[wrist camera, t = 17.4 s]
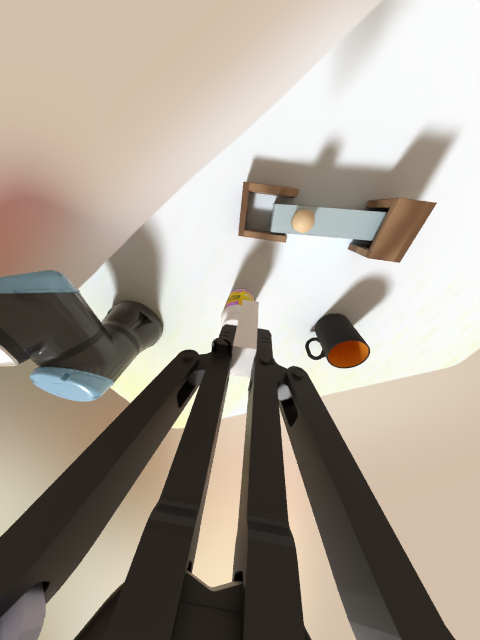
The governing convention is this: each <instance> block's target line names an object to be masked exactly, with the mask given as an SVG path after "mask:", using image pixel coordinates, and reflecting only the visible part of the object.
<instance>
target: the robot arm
mask: <svg viewBox="0 0 480 640" xmlns="http://www.w3.org/2000/svg"><path fill="white" fill-rule="evenodd" d="M79 292H80V291H79V290H78V289H76V288H75V287H74V286H73V284H72V283H71V282H70V281H69V279H68V278H67V277H66V276H65V275H63V274H62V273H60V272H58V271H54V270H46V271H39V272H32V273H25V274H19V275H12V276H5V277H0V366H16V365H19V364H21V363H22V362H24V361H26V360H28V359H31V360H32V361H34V362H35V363H36V364H37V365H38V366H39V367H38V368H36V369H34V370H33V372H32V373H31V374H30V379H32V382H33V383H34V384H35V385H36V386H38V387H39V388H41V389H43V390H45V391H47V392H49V393H51V394H54V395H56V396H59V397H62V398H66V399H70V400H75V401H92V400H95V399H97V398H99V397H100V396H102V395H103V394H104V393H105V392H106V391H107V390H108V389H109V388H110V387H111V386H112V385H113V384H114V382H115V381H116V380H117V379H118V377H119V376H120V375H121V374H122V373H123V371H124V370H125V369H126V368H127V367H128V366H129V364H130V363H131V362H132V361H133V360H134V359H135V357H136V356H137V355H138V354H139V353H140V352H142V351H144V350H145V349H146V348H148V347H150V346H152V345H154V344H155V343H156V342H157V341H158V340H159V339H160V337H161V336H162V331H163V330H162V325H161V322H160V320H159V319H158V317H157V316H156V315H155V314H154V313H153V312H152V311H151V310H150V309H148V308H147V307H145V306H144V305H142V304H139V303H136V302H132V301H124V302H120V303H118V304H117V305H115V306H114V307H112V308H111V309H110V310H109V312H108V314H107V316H106V317H105V318H104V319H103V321H102V322H100V320H99V319H98V318H97V316H96V315H95V314H94V312H93V311H92V310H91V308H90V307H89V305H88V304H87V303H86V301H85V300H84V298H83V297H82V296H81V294H80V293H79ZM258 303H259V302H256V301H249V300H243V302H242V306H241V311H240V315H239V320H238V324H237V326H236V325H230V324H225V325H224V326H223V327H222V329H221V332H220V335H219V338H216V339H215V340H213V342H212V352H210V353H208V354H201V355H199V354H198V353H197V352H196V351H194V350H184V351H182V352H180V353H179V354H178V355H177V356H176V357H175V358H174V359H173V360H172V361H171V362H170V363H169V364H168V365H167V366H166V367H165V368H164V369H163V370H162V372H161V373H160V374H159V375H158V376H157V377H156V378H155V379H154V380H153V381H152V382H151V383H150V384H149V385H148V386H147V387H146V388H145V389H144V390H143V391H142V392H141V393H140V394H139V395H138V396H137V397H136V398H135V399H134V400H133V401H132V402H131V403H130V404H129V406H128V407H127V408H126V409H125V410H124V411H123V412H122V413H121V414H120V415H119V416H118V417H117V418H116V419H115V420H114V421H113V422H112V423H111V424H110V425H109V426H108V427H107V428H106V429H105V430H104V431H103V432H102V434H100V435H99V436H98V437H97V439H96V440H95V441H94V442H93V443H92V444H91V445H90V446H89V447H88V448H87V449H86V450H85V451H84V452H83V453H82V454H81V455H80V456H79V457H78V458H77V459H76V460H75V461H74V462H73V463H72V464H71V465H70V466H69V467H68V468H67V469H66V470H65V472H63V473H62V475H61V476H60V477H59V478H58V479H57V480H56V481H55V482H54V483H53V484H52V485H51V486H50V487H49V488H48V489H47V490H46V491H45V492H44V493H43V494H42V495H41V496H40V497H39V498H38V499H37V500H36V501H35V502H34V503H33V504H32V505H31V506H30V507H29V508H28V510H27V511H26V512H25V513H24V514H23V515H22V516H21V517H20V518H19V519H18V520H17V521H16V522H15V523H14V524H13V525H12V526H11V527H10V528H9V529H8V530H7V531H6V532H5V533H4V534H3V535H2V536H1V537H0V640H37V639H38V637H39V634H40V632H41V629H42V626H43V622H44V618H45V608H46V603H47V602H48V601H49V600H50V599H51V598H52V597H53V596H54V595H55V593H56V592H57V591H58V590H59V589H60V588H61V586H62V585H63V584H64V583H65V581H66V580H67V579H68V578H69V576H70V575H71V574H72V573H73V571H74V570H75V569H76V568H77V566H78V565H79V564H80V562H81V561H82V559H83V558H84V557H85V555H86V554H87V553H88V551H89V550H90V548H91V547H92V545H93V544H94V543H95V541H96V540H97V538H98V537H99V535H100V534H101V532H102V531H103V529H104V528H105V526H106V525H107V523H108V522H109V520H110V519H111V517H112V515H113V514H114V513H115V511H116V510H117V508H118V506H119V505H120V504H121V502H122V501H123V499H124V498H125V496H126V495H127V493H128V492H129V490H130V489H131V487H132V486H133V484H134V482H135V481H136V480H137V478H138V476H139V475H140V474H141V472H142V471H143V469H144V468H145V466H146V464H147V463H148V461H149V460H150V458H151V457H152V455H153V454H154V453H155V451H156V449H157V448H158V447H159V445H160V444H161V442H162V441H163V439H164V438H165V436H166V435H167V433H168V432H169V430H170V429H171V427H172V426H173V424H174V423H175V421H176V420H177V418H178V417H179V415H180V414H181V412H182V411H183V409H184V408H185V406H186V405H187V403H188V402H189V400H190V399H191V397H192V396H193V394H194V393H195V391H196V390H197V388H198V386H199V389H198V392H197V395H196V398H195V401H194V403H193V406H192V409H191V412H190V415H189V418H188V420H187V423H186V426H185V429H184V432H183V435H182V437H181V440H180V443H179V446H178V449H177V452H176V454H175V457H174V460H173V463H172V466H171V468H170V471H169V474H168V477H167V480H166V483H165V485H164V488H163V491H162V494H161V496H160V499H159V501H158V503H157V504H156V506H155V507H154V509H153V510H152V512H151V515H150V517H149V519H148V521H147V524H146V526H145V529H144V531H143V534H142V536H141V539H140V542H139V545H138V547H137V550H136V553H135V555H134V558H133V561H132V563H131V566H130V569H129V572H128V575H127V577H126V580H125V582H124V583H123V584H122V585H120V586H119V587H118V588H117V589H116V590H115V592H113V593H112V594H111V595H110V597H109V598H108V599H107V600H106V601H105V602H104V603H103V605H102V606H101V607H100V608H99V610H98V611H97V612H96V613H95V614H94V616H93V617H92V618H91V619H90V621H89V622H88V623H87V624H86V625H85V627H84V628H83V629H82V630H81V631H80V633H79V634H78V635H77V636H76V637H75V638H74V640H311V638H310V636H309V634H308V632H307V630H306V629H305V626H304V622H303V612H302V603H301V592H300V582H299V571H298V561H297V554H296V547H295V542H294V538H293V535H292V533H291V530H290V527H289V522H288V513H287V500H286V489H285V488H286V487H285V475H284V463H283V451H282V438H281V426H280V414H279V407H280V410H281V414H282V417H283V420H284V423H285V426H286V429H287V432H288V435H289V438H290V441H291V445H292V448H293V451H294V454H295V457H296V460H297V464H298V467H299V470H300V473H301V476H302V479H303V482H304V485H305V488H306V492H307V495H308V498H309V501H310V504H311V507H312V510H313V513H314V517H315V520H316V523H317V526H318V529H319V532H320V535H321V538H322V542H323V545H324V548H325V551H326V554H327V557H328V560H329V563H330V566H331V570H332V573H333V576H334V579H335V582H336V585H337V588H338V591H339V594H340V597H341V600H342V603H343V606H344V608H345V612H346V614H347V617H348V620H349V622H350V625H351V627H352V630H353V632H354V635H355V637H356V640H455V638H454V637H453V636H452V634H451V633H450V631H449V630H448V629H447V628H446V626H445V624H444V622H443V621H442V619H441V617H440V615H439V613H438V611H437V610H436V608H435V606H434V604H433V602H432V601H431V599H430V597H429V595H428V593H427V591H426V590H425V588H424V586H423V584H422V582H421V580H420V579H419V577H418V575H417V573H416V571H415V570H414V568H413V566H412V564H411V562H410V561H409V558H408V557H407V555H406V553H405V551H404V549H403V548H402V546H401V544H400V542H399V540H398V538H397V537H396V535H395V533H394V531H393V529H392V528H391V526H390V524H389V522H388V520H387V518H386V517H385V515H384V513H383V511H382V509H381V507H380V506H379V504H378V502H377V500H376V499H375V496H374V495H373V493H372V491H371V489H370V487H369V486H368V484H367V482H366V480H365V478H364V477H363V474H362V473H361V471H360V469H359V467H358V465H357V464H356V462H355V460H354V458H353V456H352V454H351V453H350V451H349V449H348V447H347V445H346V443H345V442H344V440H343V438H342V436H341V434H340V432H339V431H338V429H337V427H336V425H335V423H334V422H333V420H332V418H331V416H330V414H329V413H328V411H327V409H326V407H325V405H324V403H323V402H322V400H321V398H320V396H319V394H318V392H317V390H316V389H315V387H314V385H313V383H312V381H311V380H310V378H309V376H308V374H307V373H306V372H305V371H304V370H303V369H302V368H299V367H296V366H292V367H289V368H288V369H286V368H284V367H282V366H280V365H278V364H277V363H276V362H275V360H274V358H273V353H272V340H271V333H270V332H269V330H264V329H258V328H257V327H258ZM229 374H232V375H238V376H244V377H250V376H251V378H250V383H249V387H248V391H249V394H248V406H247V419H246V431H245V444H244V458H243V469H242V482H241V494H240V507H239V520H238V531H237V537H236V544H235V554H234V565H233V578H232V582H231V583H227V584H224V585H220V586H217V587H213V588H212V587H209V586H207V585H206V584H205V583H204V582H202V581H201V580H200V579H198V578H197V577H196V576H194V575H193V574H192V569H193V563H194V559H195V553H196V548H197V543H198V537H199V531H200V525H201V519H202V514H203V509H204V504H205V499H206V493H207V489H208V484H209V478H210V473H211V468H212V463H213V458H214V452H215V448H216V443H217V437H218V432H219V427H220V422H221V417H222V412H223V407H224V402H225V397H226V391H227V386H228V381H229Z"/></svg>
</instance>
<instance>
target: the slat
mask: <svg viewBox="0 0 480 640" xmlns="http://www.w3.org/2000/svg"><path fill="white" fill-rule="evenodd" d="M387 213H388V212H376V211H363V210H350V209H337V208H324V207H311V206H297V205H284V204H274V205H273V210H272V217H271V224H270V231H271V232H277V233H288V234H300V235H312V236H323V237H335V238H346V239H358V240H369V241H373V240H374V239H375V237H376V235H377V233H378V231H379V229H380V227H381V225H382V223H383V221H384V219H385V217H386V215H387Z"/></svg>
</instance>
